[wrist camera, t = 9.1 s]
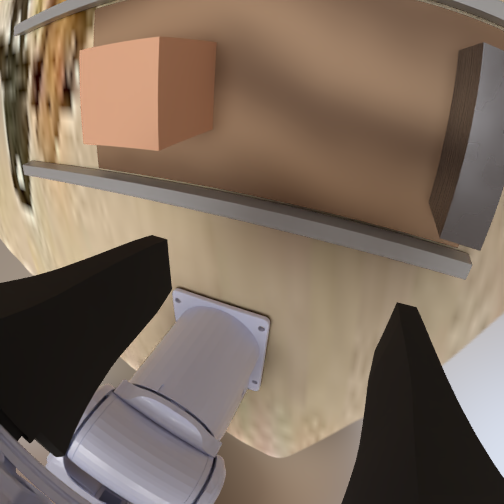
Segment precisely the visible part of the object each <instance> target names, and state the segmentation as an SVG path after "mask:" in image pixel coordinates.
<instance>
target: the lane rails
mask: <svg viewBox="0 0 504 504" xmlns="http://www.w3.org/2000/svg"><path fill="white" fill-rule="evenodd" d="M111 1H115V0H67V1H64V2H62V3H60V4H57V5H55V6H53V7H51V8H49V9H47V10H45V11H42V12H40V13H38V14H36V15H34V16H32V17H30V18H29V19H27V20H25V21H23V22H21V23H19V24H17V25H16V26H14V36H17V35H24V34H26V33H29V32H31V31H33V30H35V29H37V28H39V27H42V26H44V25H46V24H49V23H51V22H54V21H56V20H59V19H61V18H64V17H66V16H69V15H72V14H74V13H77V12H80V11H83V10H86V9H89V8H92V7H95V6H98V5H101V4H104V3H108V2H111ZM432 1H435V2H438V3H442V4H445V5H448V6H451V7H454V8H457V9H460V10H463V11H466V12H468V13H471V14H474V15H476V16H479V17H482V18H484V19H487V20H489V21H491V22H494V23H496V24H498V25H501V26H503V27H504V2H501V1H499V0H432ZM23 170H24V175H29V176H34V177H40V178H45V179H50V180H55V181H60V182H65V183H71V184H76V185H81V186H85V187H90V188H95V189H100V190H105V191H110V192H115V193H119V194H124V195H129V196H133V197H138V198H143V199H147V200H152V201H156V202H161V203H166V204H170V205H175V206H179V207H183V208H188V209H192V210H197V211H201V212H205V213H210V214H214V215H218V216H223V217H227V218H231V219H235V220H240V221H244V222H248V223H252V224H256V225H261V226H265V227H269V228H273V229H277V230H281V231H285V232H289V233H293V234H297V235H301V236H305V237H309V238H313V239H317V240H321V241H325V242H329V243H333V244H337V245H341V246H344V247H348V248H352V249H356V250H360V251H363V252H367V253H371V254H375V255H379V256H382V257H386V258H390V259H393V260H397V261H401V262H404V263H408V264H412V265H415V266H419V267H422V268H426V269H430V270H433V271H437V272H440V273H444V274H447V275H451V276H454V277H458V278H461V279H465V280H466V278H467V276H468V274H469V271H470V269H471V267H472V262H471V260H470V257H469V254H467V253H464V252H461V251H458V250H454V249H451V248H448V247H444V246H441V245H438V244H434V243H431V242H427V241H424V240H420V239H417V238H413V237H410V236H406V235H402V234H399V233H395V232H392V231H388V230H384V229H380V228H377V227H373V226H369V225H365V224H361V223H357V222H354V221H350V220H346V219H342V218H338V217H334V216H329V215H325V214H321V213H317V212H313V211H309V210H304V209H300V208H296V207H292V206H287V205H283V204H278V203H274V202H269V201H265V200H260V199H256V198H251V197H246V196H241V195H237V194H232V193H227V192H222V191H217V190H212V189H207V188H202V187H197V186H191V185H186V184H181V183H175V182H170V181H164V180H158V179H153V178H147V177H141V176H135V175H129V174H123V173H117V172H110V171H104V170H97V169H90V168H84V167H77V166H69V165H62V164H54V163H47V162H38V161H30V162H28V163H26V164H24V165H23Z"/></svg>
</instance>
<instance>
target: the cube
mask: <svg viewBox="0 0 504 504" xmlns="http://www.w3.org/2000/svg"><path fill="white" fill-rule="evenodd" d="M216 45H217V42H211V41H204V40H195V39H185V38H174V37H151V38H143V39H136V40H130V41H124V42H118V43H112V44H107V45H102V46H97V47H92V48H88V49H84V50H80V99H81V117H82V131H83V142H84V144H91V145H104V146H116V147H126V148H136V149H145V150H154V151H160V150H162V149H165V148H167V147H169V146H172V145H174V144H177V143H179V142H182V141H184V140H186V139H189V138H192V137H194V136H197V135H199V134H202V133H204V132H207V131H210V130H212V129H213V105H214V82H215V63H216Z"/></svg>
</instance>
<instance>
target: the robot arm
mask: <svg viewBox="0 0 504 504" xmlns="http://www.w3.org/2000/svg"><path fill="white" fill-rule="evenodd" d="M171 290H172V285H171V275H170V265H169V255H168V243H167V239H164V238H160V237H157V236H153V235H151V236H147V237H144V238H141V239H138V240H135V241H132V242H129V243H127V244H124V245H121V246H119V247H116V248H113V249H111V250H108V251H106V252H103V253H101V254H98V255H95V256H93V257H90V258H87V259H85V260H82V261H79V262H76V263H74V264H71V265H68V266H65V267H62V268H59V269H56V270H53V271H50V272H46V273H43V274H39V275H36V276H32V277H28V278H23V279H18V280H13V281H9V282H4V283H0V504H53V503H52V502H51V501H50V500H49V498H50V499H51V500H52V501H53V502H55V503H56V504H214V502H215V501H216V499H217V497H218V495H219V493H220V491H221V489H222V486H223V484H224V480H225V476H226V470H225V466H224V460H223V458H222V457H221V456H219V455H217V452H218V451H219V449H220V447H221V445H222V442H220V441H219V440H220V439H221V438H222V436H223V435H224V434H225V432H226V430H227V428H228V426H229V424H230V422H231V420H232V418H233V417H234V415H235V413H236V411H237V409H238V407H239V405H240V403H241V401H242V399H243V397H244V395H245V393H246V391H247V389H250V390H253V391H258V390H259V389H260V386H261V380H262V373H263V367H264V361H265V354H266V348H267V341H268V335H269V328H270V320H269V319H268V318H267V317H265V316H262V315H259V314H256V313H253V312H249V311H246V310H243V309H240V308H237V307H234V306H230V305H227V304H224V303H221V302H218V301H215V300H212V299H209V298H206V297H203V296H200V295H197V294H194V293H191V292H188V291H185V290H182V289H180V288H176V289H175V290H174V291H173V293H172V295H173V303H174V311H175V319H176V323H175V324H174V325H173V326H172V328H171V329H170V330H169V331H168V333H167V334H166V335H165V336H164V338H163V339H162V340H161V341H160V343H159V344H158V345H157V346H156V347H155V349H154V350H153V351H152V352H151V354H150V355H149V356H148V357H147V359H146V360H145V361H144V362H143V364H142V365H141V366H140V367H139V369H138V370H137V371H136V372H135V374H134V375H133V376H132V378H131V379H130V380H129V381H127V380H126V379H123V381H122V382H121V383H120V384H119V386H118V387H117V388H115V387H113V386H112V385H111V384H105V385H100V384H101V382H102V381H103V379H104V378H105V376H106V374H107V373H108V371H109V370H110V368H111V367H112V366H113V364H114V363H115V362H116V360H117V359H118V358H119V357H120V355H121V354H122V353H123V352H124V351H125V350H126V348H127V347H128V346H129V345H130V344H131V342H132V341H133V340H134V339H135V338H136V337H137V336H138V334H139V333H140V332H141V331H142V330H143V329H144V327H145V326H146V325H147V324H148V323H149V322H150V320H151V319H152V318H153V317H154V316H155V314H156V313H157V312H158V310H159V309H160V307H161V306H162V304H163V303H164V301H165V300H166V298H167V296H168V295H169V293H170V292H171ZM261 326H262V327H264V328H262V327H261ZM21 436H23V438H24V439H26V440H27V441H28V442H29V443H31V442H32V441H33V440H34V439H35V440H36V441H37V442H38V443H40V444H41V445H42V446H43V447H44V448H45V449H46V450H48V451H49V452H50V453H49V455H48V457H47V462H48V463H47V464H46V466H45V467H44V466H43V465H42V464H41V463H40V462H39V461H38V460H37V459H35V458H34V457H33V456H32V455H31V454H30V453H29V452H28V451H27V450H26V449H25V448H23V446H22V445H20V444H19V443H18V440H19V438H20V437H21ZM16 468H17V469H18V470H19V471H20V472H21V473H22V474H23V475H25V477H26V478H28V479H29V480H30V481H31V482H32V483H33V484H34V485H35V486H36V487H37V488H38V489H39V490H41V491H42V492H43V493H44V494H45V495H47V496H45V495H44V494H43V493H42V492H40V491H39V490H38V489H37V488H35V487H34V486H32V485H31V484H30V483H29V482H27V481H26V480H25V479H23V478H22V477H21V476H19V475H18V474H17V473H16ZM48 497H49V498H48ZM342 504H504V478H503V476H502V475H501V474H500V472H499V471H498V469H497V468H496V466H495V465H494V463H493V462H492V460H491V459H490V457H489V455H488V454H487V452H486V450H485V449H484V447H483V446H482V444H481V442H480V441H479V439H478V437H477V436H476V434H475V432H474V431H473V429H472V427H471V425H470V423H469V421H468V419H467V417H466V415H465V414H464V412H463V410H462V408H461V406H460V404H459V402H458V400H457V398H456V396H455V394H454V392H453V390H452V388H451V385H450V383H449V381H448V379H447V377H446V375H445V373H444V370H443V368H442V366H441V363H440V361H439V359H438V356H437V354H436V352H435V349H434V347H433V345H432V342H431V340H430V337H429V335H428V333H427V330H426V328H425V325H424V323H423V321H422V318H421V316H420V314H419V312H418V309H417V307H413V306H409V305H405V304H401V303H398V302H397V304H396V306H395V308H394V311H393V313H392V315H391V317H390V320H389V322H388V324H387V326H386V328H385V330H384V333H383V335H382V337H381V339H380V341H379V343H378V345H377V347H376V349H375V352H374V357H373V361H372V366H371V371H370V375H369V380H368V387H367V396H366V404H365V411H364V419H363V427H362V432H361V439H360V445H359V450H358V454H357V458H356V462H355V465H354V469H353V472H352V475H351V478H350V481H349V484H348V487H347V490H346V493H345V496H344V498H343V501H342Z"/></svg>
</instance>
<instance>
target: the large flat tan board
mask: <svg viewBox="0 0 504 504" xmlns="http://www.w3.org/2000/svg"><path fill="white" fill-rule="evenodd" d="M151 37H174V38H185V39H195V40H204V41H211V42H217V45H216V63H215V82H214V105H213V129H212V130H210V131H207V132H204V133H202V134H199V135H197V136H194V137H192V138H189V139H186V140H184V141H182V142H179V143H177V144H174V145H172V146H169V147H167V148H165V149H162V150H160V151H154V150H145V149H136V148H126V147H116V146H104V145H97V153H98V163H99V168H103V169H109V170H116V171H122V172H129V173H135V174H141V175H147V176H153V177H159V178H165V179H170V180H176V181H182V182H187V183H192V184H198V185H203V186H208V187H213V188H218V189H223V190H228V191H233V192H238V193H243V194H248V195H253V196H257V197H262V198H267V199H271V200H276V201H280V202H285V203H289V204H294V205H298V206H302V207H307V208H311V209H315V210H319V211H323V212H328V213H332V214H336V215H340V216H344V217H348V218H352V219H356V220H360V221H363V222H367V223H371V224H375V225H379V226H383V227H386V228H390V229H394V230H397V231H401V232H405V233H408V234H412V235H415V236H419V237H422V238H426V239H429V240H433V241H436V242H439V243H443V244H446V245H450V246H453V247H456V248H458V246H459V244H460V245H464V246H467V247H470V248H473V249H476V250H481V247H482V245H483V242H484V240H485V237H486V235H487V232H488V230H489V227H490V225H491V222H492V219H493V217H494V214H495V211H496V208H497V205H498V202H499V199H500V196H501V193H502V190H503V187H504V31H503V30H500V29H498V28H496V27H494V26H491V25H489V24H486V23H484V22H481V21H479V20H476V19H474V18H471V17H468V16H466V15H463V14H460V13H457V12H454V11H451V10H448V9H445V8H442V7H438V6H435V5H431V4H428V3H424V2H421V1H417V0H126V1H122V2H118V3H114V4H111V5H107V6H104V7H101V8H97V9H95V22H94V47H97V46H102V45H107V44H112V43H118V42H124V41H130V40H136V39H143V38H151Z"/></svg>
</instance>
